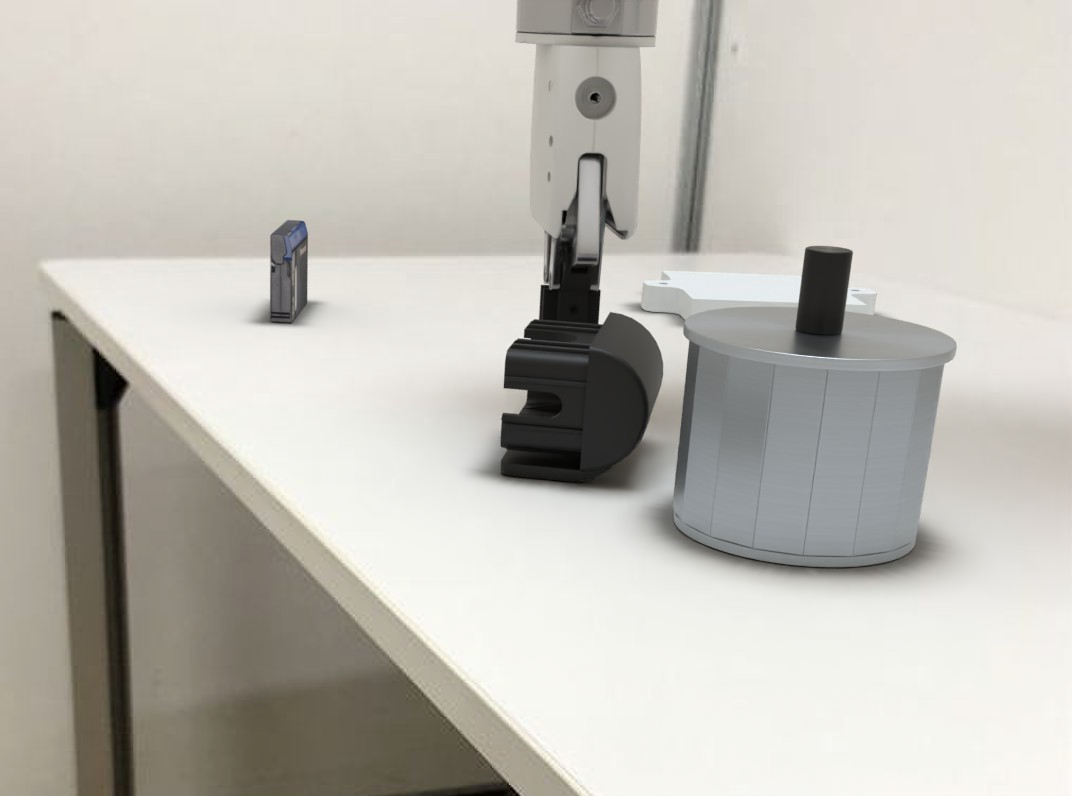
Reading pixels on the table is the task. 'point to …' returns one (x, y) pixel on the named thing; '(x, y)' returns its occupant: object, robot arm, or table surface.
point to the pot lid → (821, 327)
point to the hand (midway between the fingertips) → (566, 356)
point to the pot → (803, 460)
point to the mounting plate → (734, 292)
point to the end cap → (579, 397)
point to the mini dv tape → (288, 271)
